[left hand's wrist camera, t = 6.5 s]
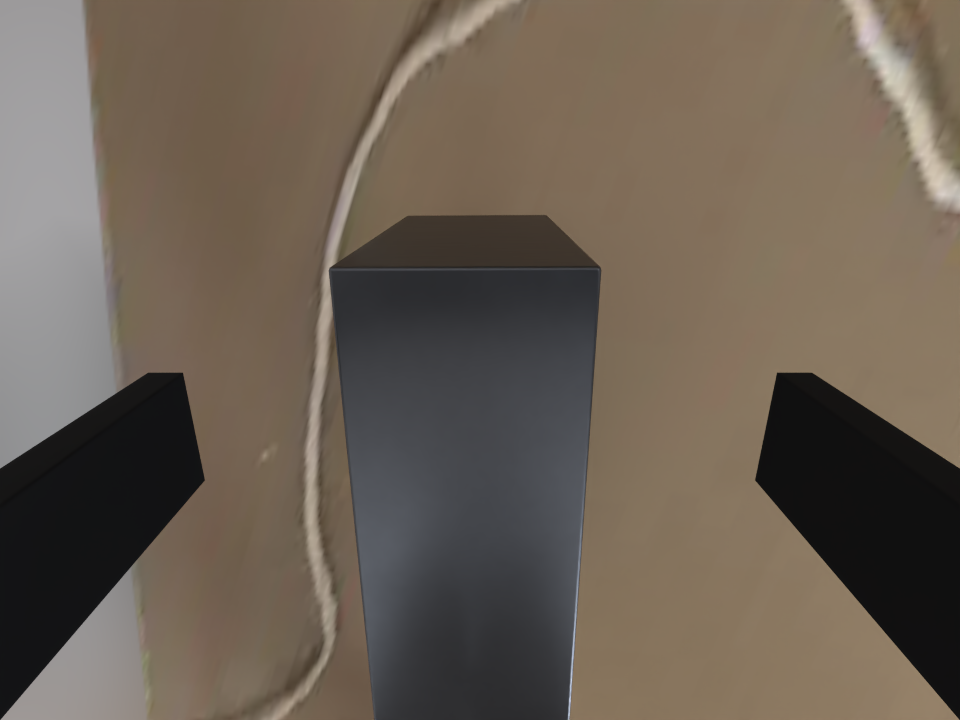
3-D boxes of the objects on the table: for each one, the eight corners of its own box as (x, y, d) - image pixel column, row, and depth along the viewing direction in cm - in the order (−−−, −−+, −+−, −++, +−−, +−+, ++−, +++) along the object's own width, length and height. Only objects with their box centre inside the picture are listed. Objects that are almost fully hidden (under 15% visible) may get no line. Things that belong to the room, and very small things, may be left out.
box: (406, 215, 24) (327, 267, 12) (547, 214, 24) (602, 266, 12) (428, 646, 33) (394, 917, 21) (532, 647, 32) (556, 920, 21)
